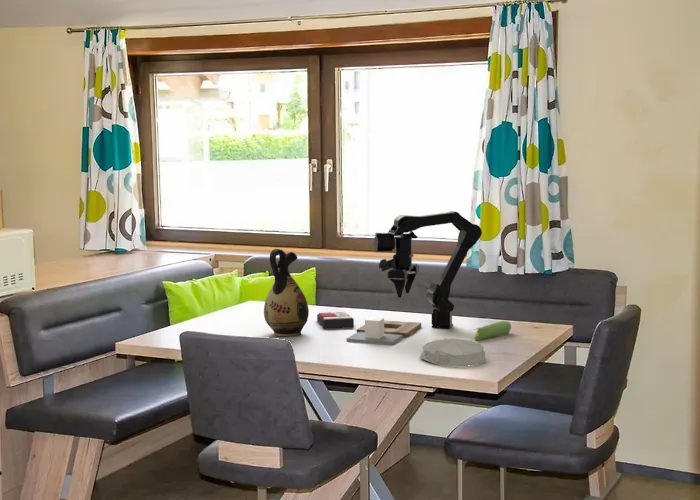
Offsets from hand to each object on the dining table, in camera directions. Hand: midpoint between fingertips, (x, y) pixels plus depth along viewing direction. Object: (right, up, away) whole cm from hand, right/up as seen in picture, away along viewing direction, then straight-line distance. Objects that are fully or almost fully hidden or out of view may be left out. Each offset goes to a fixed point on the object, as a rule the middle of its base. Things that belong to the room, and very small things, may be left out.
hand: (403, 295), depth 305 cm
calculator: (-24, -12, +11) cm, 29 cm away
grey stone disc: (+12, -18, -42) cm, 47 cm away
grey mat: (-11, -14, -16) cm, 24 cm away
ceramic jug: (-41, -13, -6) cm, 44 cm away
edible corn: (+28, -14, -13) cm, 34 cm away
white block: (-11, -13, -16) cm, 23 cm away
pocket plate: (-5, -12, -1) cm, 13 cm away
